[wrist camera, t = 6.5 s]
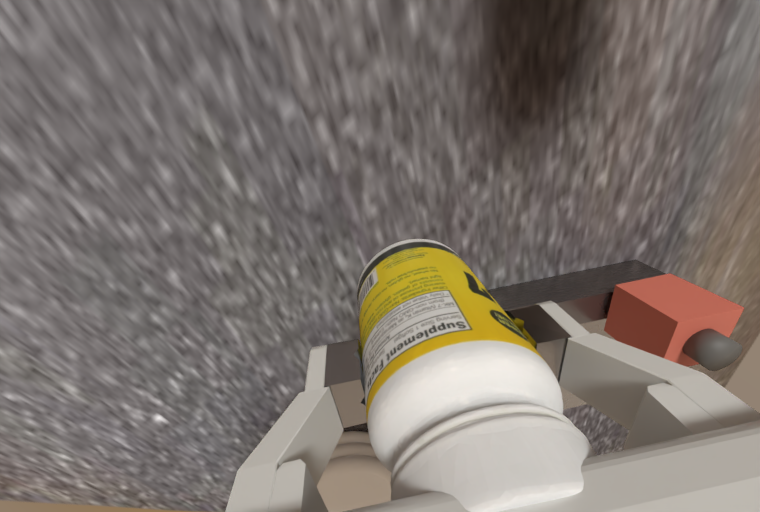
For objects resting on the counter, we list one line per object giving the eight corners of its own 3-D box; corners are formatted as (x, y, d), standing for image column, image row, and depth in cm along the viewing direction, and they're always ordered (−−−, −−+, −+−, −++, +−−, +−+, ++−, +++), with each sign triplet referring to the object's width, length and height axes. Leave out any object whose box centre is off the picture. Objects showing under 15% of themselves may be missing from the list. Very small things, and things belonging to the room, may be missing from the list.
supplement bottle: (478, 303, 13) (659, 556, 6) (385, 344, 14) (439, 629, 6) (444, 214, 11) (662, 435, 3) (335, 267, 11) (321, 562, 4)
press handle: (670, 273, 20) (773, 321, 15) (654, 319, 21) (742, 375, 17) (615, 284, 19) (703, 337, 15) (603, 330, 21) (678, 389, 16)
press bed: (635, 259, 23) (826, 349, 14) (596, 398, 30) (705, 514, 21) (442, 299, 22) (513, 421, 13) (450, 431, 29) (500, 568, 21)
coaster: (339, 414, 26) (339, 453, 23) (414, 447, 30) (423, 485, 27) (277, 471, 29) (270, 514, 26) (354, 495, 33) (355, 536, 29)
